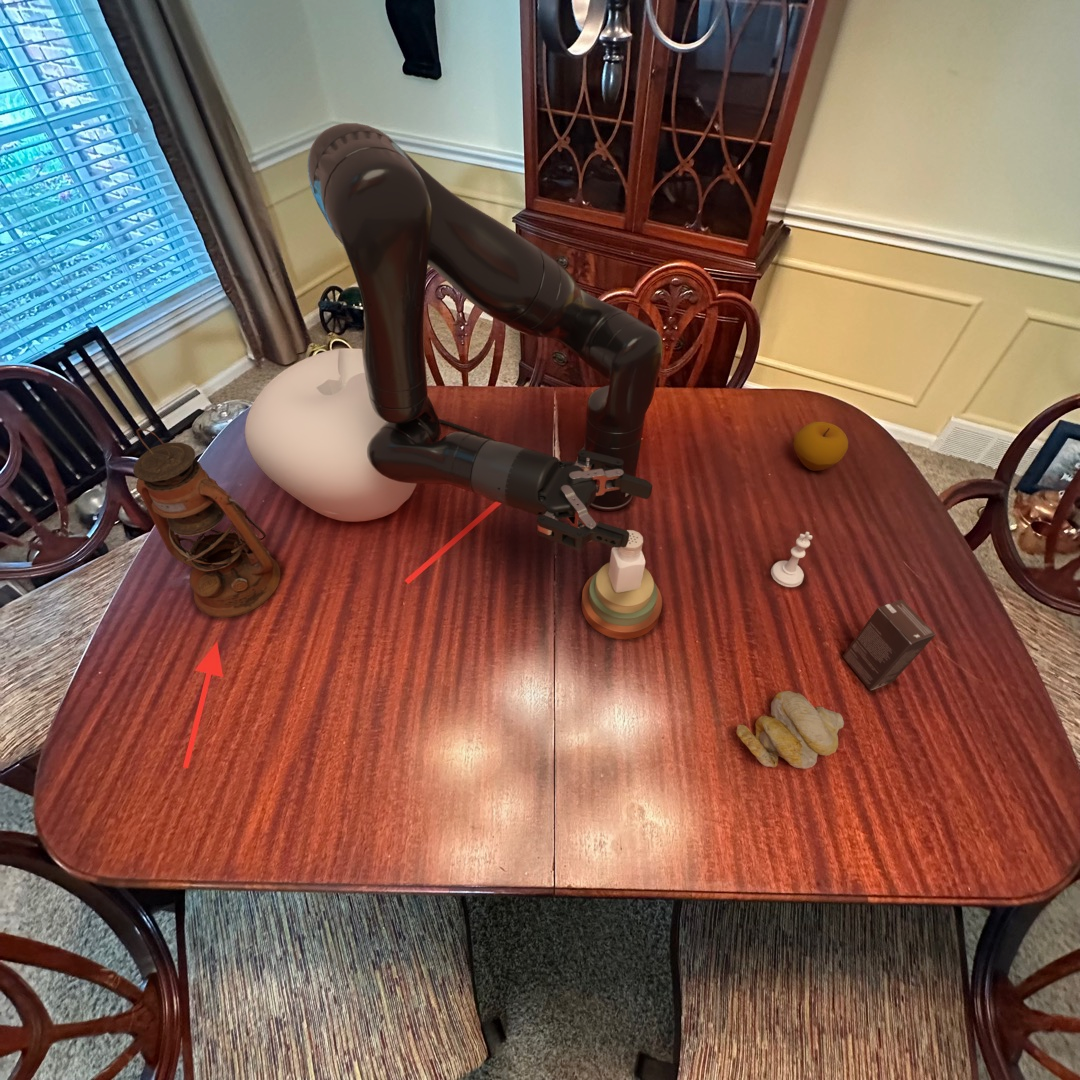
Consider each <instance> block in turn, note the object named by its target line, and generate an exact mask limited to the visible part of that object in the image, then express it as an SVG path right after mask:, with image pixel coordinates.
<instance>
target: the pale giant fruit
mask: <svg viewBox="0 0 1080 1080" xmlns="http://www.w3.org/2000/svg"><path fill="white" fill-rule="evenodd" d="M428 396H429V394H428ZM429 398H430V399H431V397H430V396H429ZM385 422H386V421H385V420H383V419H381V418H380V417H379V416H378V415H377V414H376V413H375V412H374V410H373V408H372V406H371V403H370V399H369V393H368V388H367V383H366V378H365V372H364V366H363V356H362V348H355V347H354V348H351V347H350V348H349V347H348V348H346V347H341V348H335V349H330V350H325V351H322V352H319V353H316V354H314V355H310V356H308V357H306V358H304V359H301V360H299V361H298V362H295V363H294V364H292V365H290V366H289V367H287V368H285V369H284V370H282V371H281V372H280V373H279V374H277V375H276V376H275V377H273V379H271V380H270V381H269V382H268V383H267V384H266V385H265V386H264V387H263V388H262V390H261V391H259V394H258V395H257V396H256V397H255V400H254V401H253V403H252V405H251V406H250V409H249V411H248V413H247V416H246V419H245V426H244V427H245V428H244V437H245V443H246V446H247V449H248V451H249V453H250V456H251V457H252V459H253V460H254V462H255V463H256V465H257V466H258V467H259V468H260V470H261V471H262V472H263V473H264V474H265V475H266V476H267V477H268V478H269V479H270V480H272V482H274V483H275V484H276V485H277V486H278V487H279V488H281V489H282V490H284V491H285V492H286V493H288V494H289V495H290V496H292V497H293V498H295V499H296V500H298V501H299V502H301V503H302V504H303V505H305V506H306V507H308V508H309V509H311V510H312V511H314V512H316V513H317V514H319V515H321V516H324V517H326V518H329V519H332V520H337V521H340V522H351V523H353V522H354V523H355V522H366V521H367V522H368V521H373V520H377V519H381V518H383V517H386V516H389V515H390V514H393V513H394V512H396V511H398V509H399V508H401V506H402V505H403V504H404V503H406V501H408V500H409V499H410V498H411V496H412V495H413V493H414V491H415V489H416V487H417V485H418V483H404V482H399V481H394V480H391V479H389V478H387V477H385V476H383V475H381V474H380V473H379V472H377V471H376V470H375V469H374V468H373V466H372V465H371V464H370V462H369V460H368V457H367V446H368V444H369V442H370V440H371V439H372V437H373V436H374V435H375V434H376V433H377V432H378V430H379V429H380V428H381V427H382V426H383V425H384V424H385Z"/></svg>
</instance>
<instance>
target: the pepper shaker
mask: <svg viewBox="0 0 1080 1080" xmlns="http://www.w3.org/2000/svg"><path fill="white" fill-rule="evenodd" d="M626 531H628V532H629V540H628V543H627V546H626V547H620V548H618V547H611V551H610V559H609V562H610V565H609V572H608V575H609V578H610V580H611V583H612V586H613V589H614V591H615V592H617V593H620V592H626V591H631V590H637V589H639V588H640V586H641V582H642V577H643V572H644V567H645V566H646V558H645V556H644V553H643V550H642V549H643V545H644V537H643V535H642V534H641V533H640V532H638V531H637V530H633V529H626ZM645 568H646V567H645Z"/></svg>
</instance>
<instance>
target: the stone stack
mask: <svg viewBox="0 0 1080 1080" xmlns="http://www.w3.org/2000/svg"><path fill="white" fill-rule="evenodd" d="M844 725H845V722H844V717H843V715H842V714H841V713H840V712H835V711H833V710H830V709H826V708H825V707H823V706H816V707H815V706H813V705H812V703H810V701H809V700H808V699H807V698H806V697H805V696H804V695H803V694H801V693H800V692H794V691H791V690H784V691H783V690H782V691H779V692H777V693H776V694H775V695H774V697H773V699H772V701H771V703H770V716H768V715H761V716H759V717H758V718H757V719H756V722H755V725H754V726H755V735H754V734H753V732H752V730H750V728H749V727H748V726H746V725H744V724H738V725H737V727H736V735H737V737H738V738H739V739H740V741H741V742H742V743H743V744H744V745H745V746H746V747H747V748H748V750H749V752H750V753H751V754H752V755H754V756H755V758H756V759H757V761H758V762H759V763H760V764H761V765H762V766H763V767H767V768H776V767H777V766H778V763H779V757H780V758H782V759H784V761H785V762H787V763H788V764H789V765H790V766H792V767H794V768H795V769H804V770H805V769H809V768H812V767H814V766H815V765H816V763H817V762H818V760H817V759H818V755H820V756H825V757H829V756H830V755H833V754H834V753H836V751H837V750H838V747H839V736H838V733H839V730H841V729H843V728H844Z"/></svg>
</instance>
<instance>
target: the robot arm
mask: <svg viewBox="0 0 1080 1080" xmlns="http://www.w3.org/2000/svg"><path fill="white" fill-rule="evenodd" d="M307 174H308V180H309V185H310V188H311V192H312V195H313V197H314V199H315V202H316V204H317V206H318V208H319V210H320V212H321V214H322V215H323V217H324V219H325V221H326V222H327V224H328V226H329V228H330V229H331V231H332V233H333V234H334V237H336V239H337V240H338V241H339V242H340V243H341V245H342V246H343V248H344V251H345V254H346V256H347V258H348V262H349V264H350V266H351V269H352V272H353V274H354V278H355V281H356V283H357V286H358V290H359V293H360V297H361V302H362V307H363V315H364V325H363V326H364V328H363V335H362V347H361V349H362V356H363V366H364V372H365V378H366V383H367V388H368V393H369V399H370V403H371V406H372V408H373V410H374V412H375V413H376V414H377V415H378V416H379V417H380V418H381V419H383V420H385V421H386V422H385V424H384V425H383V426H382V427H381V428H380V429H379V430H378V432H377V433H376V434H375V435H374V436H373V437H372V439H371V440H370V442H369V444H368V446H367V457H368V460H369V462H370V464H371V465H372V466H373V468H374V469H375V470H376V471H377V472H379V473H380V474H381V475H383V476H385V477H387V478H389V479H391V480H394V481H399V482H404V483H417V484H424V485H426V484H428V485H449V486H453V487H456V488H459V489H462V490H465V491H468V492H471V493H474V494H477V495H479V496H482V497H484V498H486V499H488V500H490V501H493V502H496V503H498V504H501V505H504V506H508V507H511V508H514V509H517V510H520V511H522V512H523V511H524V512H527V513H529V514H533V515H535V516H537V518H536V534H537V535H538V536H539V537H541V538H544V539H547V540H550V541H552V542H554V543H557V544H559V545H562V546H564V547H567V548H570V549H571V550H575V551H577V552H580V551H583V550H584V549H585V546H586V545H587V544H588V543H591V542H597V543H600V544H604V545H607V546H610V547H611V548H613V547H618V548H620V547H626V546H627V543H628V540H629V532H628V531H627V529H623V528H620V527H617V526H614V525H610V524H607V523H604V522H602V521H599V522H596V521H595V520H594V518H593V517H592V516H591V514H590V513H589V510H590V508H592V509H594V510H597V511H601V512H615V511H616V512H617V511H620V510H623V509H624V508H626V507H627V506H629V505H630V504H631V503H632V500H633V497H637V498H641V499H644V500H649V499H650V497H651V494H652V491H653V484H652V482H650V481H649V480H647V479H644V478H641V477H637V470H638V463H639V457H640V451H641V446H642V445H641V444H642V439H643V432H644V425H645V420H646V414H647V411H648V410H649V409H650V406H651V404H652V401H653V398H654V396H655V391H656V387H657V383H658V379H659V374H660V370H661V365H662V360H663V354H664V344H663V343H664V342H663V338H662V336H661V334H660V332H658V331H657V330H656V329H654V328H653V327H652V326H650V325H648V324H646V323H645V322H644V321H643V320H641V319H639V318H637V317H636V316H635V315H633V314H631V313H630V312H628V311H627V310H624V309H622V308H619V307H618V306H614V305H613V304H610V303H608V302H606V301H604V300H601V299H600V298H598V297H596V296H594V295H592V294H590V293H588V292H587V291H585V290H584V289H583V288H581V287H580V285H579V284H578V282H577V281H576V279H574V278H575V277H573V275H572V274H571V273H570V272H569V271H568V269H566V268H565V267H564V266H563V265H562V264H561V263H560V262H558V261H557V260H556V259H555V258H554V257H553V256H552V255H549V253H547V252H546V251H544V250H543V249H541V248H540V247H538V246H537V244H534V243H533V242H531V241H530V240H529V239H527V238H525V237H524V236H522V235H520V234H519V233H517V232H516V231H514V230H513V229H511V228H510V227H508V226H507V225H505V224H503V223H502V222H500V221H499V220H497V219H496V218H493V217H492V216H490V215H489V214H487V213H485V212H484V211H482V210H480V209H479V208H476V207H475V206H473V205H471V204H470V203H468V202H466V201H465V200H463V199H461V198H460V197H459V196H457V195H456V194H454V192H451V191H450V190H449V189H448V188H447V187H445V186H444V185H442V184H443V183H440V182H439V180H437V179H436V178H435V177H433V176H432V175H431V173H429V172H428V171H427V170H426V169H424V168H423V167H422V166H421V165H420V164H419V163H417V161H416V160H414V159H413V158H412V157H411V156H410V155H409V154H408V153H407V152H406V151H405V150H404V149H403V148H402V147H400V146H399V144H398V143H397V142H395V140H393V139H392V137H390V136H389V135H387V134H386V133H385V132H383V131H382V130H379V129H377V128H375V127H373V126H370V125H368V124H363V123H358V122H353V123H352V122H345V123H339V124H335V125H333V126H330V127H329V128H326V129H325V130H323V131H322V132H321V133H320V134H319V135H317V137H316V139H315V140H314V141H313V143H312V145H311V147H310V149H309V153H308V157H307ZM428 266H429V267H430V268H432V269H433V270H434V271H435V272H436V273H437V274H438V275H439V276H440V277H442V278H443V279H444V281H446V282H447V283H448V284H449V285H451V286H452V288H454V289H455V290H456V291H457V292H458V293H460V294H461V295H462V296H463V297H464V298H465V299H467V300H468V301H469V302H470V303H471V304H473V305H474V306H475V307H477V309H479V310H480V311H481V312H483V313H484V314H486V315H488V316H489V317H491V318H493V319H494V320H496V321H498V322H499V323H502V324H504V325H506V326H508V327H509V328H511V329H513V330H516V331H517V332H519V333H522V334H524V335H527V336H530V337H535V338H546V339H552V340H555V341H557V342H558V343H560V344H561V345H562V346H564V347H566V348H567V349H568V350H570V351H571V352H572V353H574V354H575V355H576V356H577V357H578V358H580V359H581V360H582V361H583V362H584V363H585V364H586V365H587V366H588V367H590V368H591V369H592V370H593V371H595V372H596V373H597V374H598V375H600V376H601V377H603V378H604V379H605V380H606V381H608V384H607V385H603V386H601V387H598V388H596V389H595V390H593V391H592V392H591V394H589V396H588V399H587V402H586V412H585V413H586V415H585V428H584V429H585V430H584V441H583V442H584V443H583V445H584V446H583V447H582V448H581V449H580V450H578V451H577V457H576V458H577V459H576V461H567V460H560V459H559V458H558V457H557V456H554V455H550V454H548V453H543V452H540V451H537V450H534V449H530V448H527V447H524V446H519V445H517V444H513V443H509V442H504V441H499V440H498V441H497V440H496V439H493V438H491V437H489V436H487V435H485V434H482V433H480V432H477V431H475V430H473V429H471V428H469V427H468V428H467V427H465V426H462V425H459V424H457V423H454V422H450V421H447V420H444V419H441V418H439V416H438V413H437V412H436V409H435V407H434V404H433V402H432V400H431V397H430V396H428V395H429V393H428V392H429V391H428V389H429V388H428V377H427V375H428V374H427V365H426V352H425V339H424V338H425V337H424V335H425V334H424V333H425V332H424V331H425V330H424V324H425V323H424V321H425V301H426V289H427V288H426V285H427V274H428ZM429 397H430V398H429ZM441 424H442V425H445V426H448V427H451V428H454V429H457V430H460V431H453V432H450V433H448V434H447V435H445V436H444V437H443V438H441V434H442V425H441ZM440 438H441V439H440ZM562 519H566V520H567V521H568V523H567V522H564V521H561V520H562Z"/></svg>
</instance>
